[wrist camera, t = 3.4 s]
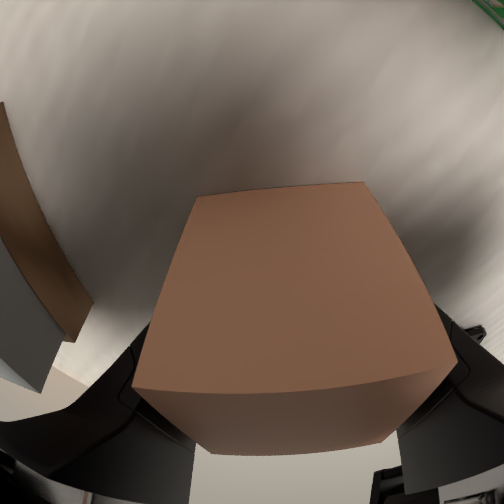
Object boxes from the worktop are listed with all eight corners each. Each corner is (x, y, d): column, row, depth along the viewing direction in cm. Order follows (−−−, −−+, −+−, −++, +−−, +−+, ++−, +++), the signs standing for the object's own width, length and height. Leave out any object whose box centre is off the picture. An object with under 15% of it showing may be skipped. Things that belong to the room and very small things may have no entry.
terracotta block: (351, 297, 11) (381, 442, 6) (227, 307, 12) (211, 454, 7) (363, 181, 8) (458, 361, 3) (197, 196, 8) (131, 387, 4)
